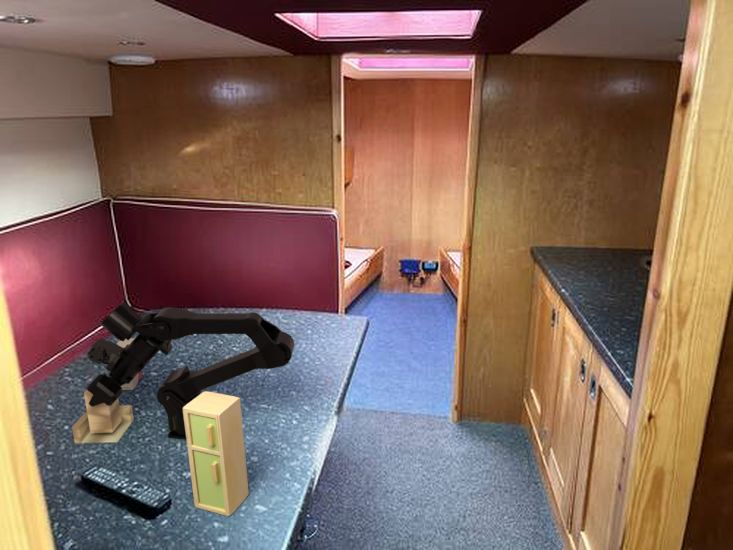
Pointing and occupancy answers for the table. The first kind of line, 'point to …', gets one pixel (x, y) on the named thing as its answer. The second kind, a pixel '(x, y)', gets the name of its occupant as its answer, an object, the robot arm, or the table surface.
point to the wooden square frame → (84, 436)
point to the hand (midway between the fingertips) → (95, 399)
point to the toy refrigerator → (216, 452)
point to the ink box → (138, 376)
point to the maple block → (102, 415)
